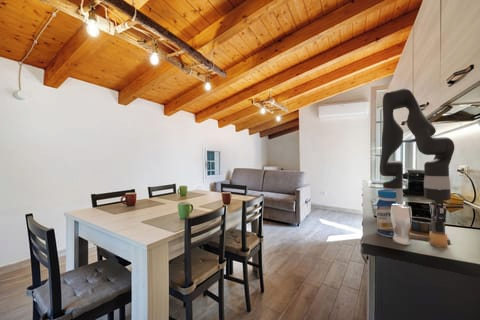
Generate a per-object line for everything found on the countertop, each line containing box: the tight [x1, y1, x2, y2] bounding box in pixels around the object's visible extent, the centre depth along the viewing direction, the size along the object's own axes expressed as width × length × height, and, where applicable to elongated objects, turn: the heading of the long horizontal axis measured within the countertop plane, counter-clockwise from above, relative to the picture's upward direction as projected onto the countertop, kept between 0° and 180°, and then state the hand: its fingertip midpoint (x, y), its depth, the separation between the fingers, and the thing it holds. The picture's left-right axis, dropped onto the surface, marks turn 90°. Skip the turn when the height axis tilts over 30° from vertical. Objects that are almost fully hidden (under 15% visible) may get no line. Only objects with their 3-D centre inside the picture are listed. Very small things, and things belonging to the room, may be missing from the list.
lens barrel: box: [410, 216, 433, 234], centre depth 92 cm, size 10×10×4 cm
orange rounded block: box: [429, 221, 448, 248], centre depth 79 cm, size 5×5×9 cm
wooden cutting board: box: [410, 230, 451, 245], centre depth 92 cm, size 20×14×2 cm
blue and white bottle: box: [375, 189, 398, 238], centre depth 91 cm, size 8×8×20 cm
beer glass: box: [390, 204, 413, 246], centre depth 82 cm, size 7×7×15 cm
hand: (438, 230), depth 79 cm, fingers open, 3 cm apart
